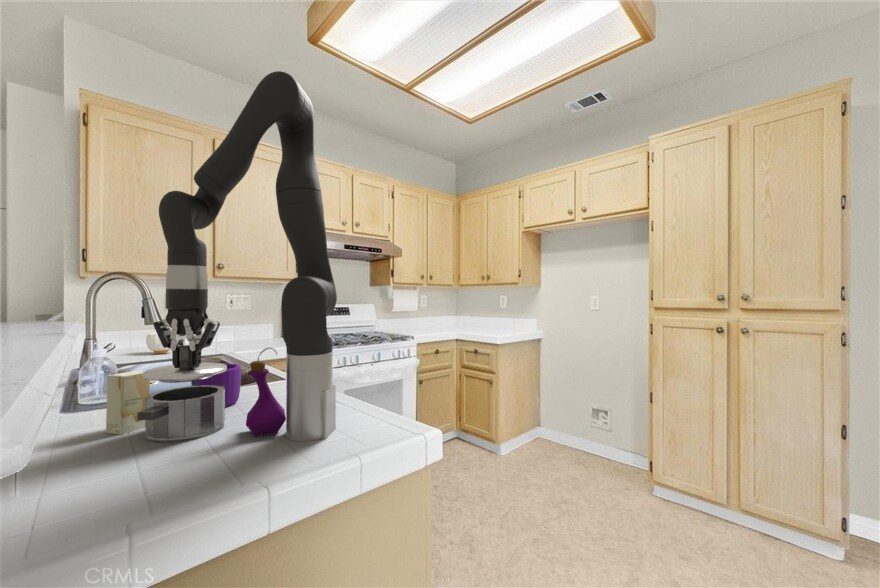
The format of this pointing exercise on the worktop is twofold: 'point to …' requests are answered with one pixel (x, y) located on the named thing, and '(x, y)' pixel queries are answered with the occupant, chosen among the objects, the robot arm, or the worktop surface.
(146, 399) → the pot
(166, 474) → the worktop surface
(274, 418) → the perfume bottle
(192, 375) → the lid
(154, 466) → the worktop surface
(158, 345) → the cup
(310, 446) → the worktop surface
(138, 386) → the skincare box
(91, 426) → the worktop surface
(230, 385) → the mug
